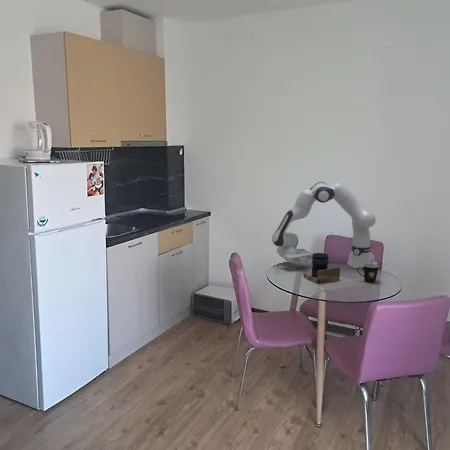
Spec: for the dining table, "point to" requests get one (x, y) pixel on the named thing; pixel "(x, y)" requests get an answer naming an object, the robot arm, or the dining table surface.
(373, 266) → the coffee mug
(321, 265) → the dark blue cylinder
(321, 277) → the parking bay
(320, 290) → the dining table surface
